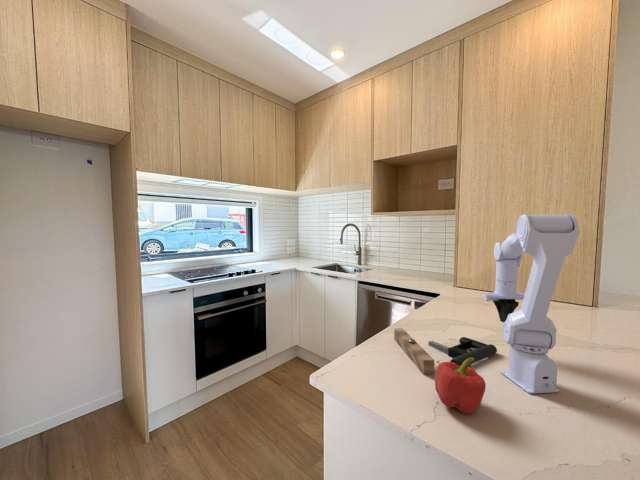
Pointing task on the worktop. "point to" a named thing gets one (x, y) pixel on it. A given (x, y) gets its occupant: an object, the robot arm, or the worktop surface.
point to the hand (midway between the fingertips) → (504, 321)
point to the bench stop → (414, 351)
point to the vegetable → (459, 386)
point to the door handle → (460, 355)
